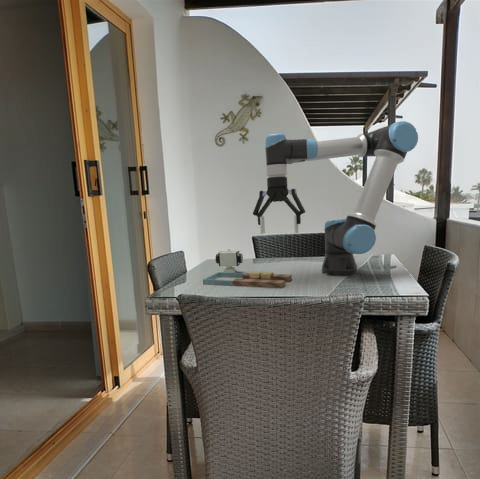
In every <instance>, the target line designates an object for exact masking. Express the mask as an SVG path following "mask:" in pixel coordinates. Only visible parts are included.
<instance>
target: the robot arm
mask: <svg viewBox="0 0 480 479" xmlns="http://www.w3.org/2000/svg"><path fill="white" fill-rule="evenodd" d="M418 142H419V134H418V131H417V128H416V127H415V126H414V125H413V123H411V122H408V121H406V120H405V121H403V120H402V121H401V120H400V121H396V122H394V123H392V124H389V125H386V126H382V127H381V128H377V129H375V130H373V131H370V132H365V133H359V134H358V135H357V136H353V137H348V138H347V137H345V138H337V139H336V138H335V139H329V140H321V141H320V140H319V141H317V140H316V139H313V138H302V139H301V138H299V139H287V138H286V135H285V133H278V132H277V133H271V134H268V135H267V136H266V137H265V158H266V159H265V161H266V176H267V178H266V183H267V184H266V185H267V190H260V191H259V193H258V194H259V195H258V196H259V197H258V200H257V202H256V205H255V206H254V209H253V212H252V215H253V216H256V217H257V224H258V225H257V226H259V227H260V234H262V235H263V234H265V233H266V231H265V230H266V228H265V227H266V226H265V225H266V224H265V216H263V215H264V214H265V212H266V211H267V209H268V208H269V207H270V205H271V204H272V202H274V203H275V202H284V203H285V204H286V206H288V207H289V209H290V210H291V211H292V212H293V213H294V214H295V215H294V216H293V218H294V219H293V223H294V224H293V226H294V234H298V233H299V225H301V221H302V220H301V215H304V214H305V213H306V210H305V208H304V206H303V204H302V202H301V201H300V198H299V197H298V195H297V188H292V189H288V177H287V175H288V171H287V168H288V167H287V165H292V164H296V163H297V164H298V163H304V162H313V161H319V160H320V161H321V160H328V159H335V158H336V159H337V158H344V157H353V156H354V157H355V156H357V157H359V158H364V157H368V158H369V157H375V158H374V159H375V160H374V161H373V164H372V166H371V169H370V171H369V174H368V176H367V179H366V180H365V183H364V185H363V187H362V191H361V193H360V195H359V197H358V199H357V202H356V204H355V208H354V209H353V211H352V213H349V214H347V216H346V218H344V219H334V220H333V219H332V220H327V221H325V222H324V228H323V229H324V246H325V247H324V248H325V250H324V251H325V254H324V259H323V262H322V265H321V273H322V274H325V275H328V276H352V275H355V274H358V265H357V263H356V259H355V257H354V255H363V254H366V253H368V252H369V251H371V250H372V249H373V248H374V246H375V244H376V241H377V235H376V232H375V230H376V227H377V224H376V222H375V220H376V217H377V214H378V212H379V210H380V208H381V204H382V203H383V201H384V198H385V196H386V193H387V191H388V188H389V186H390V183H391V181H392V179H393V177H394V174H395V172H396V169H397V167H398V165H399V164H401V163H403V162H404V161H405V158H406V156H407V155H408V154H407V153H409V152H411V151H412V150H413V149H415V148H416V146H417V144H418ZM289 194H290V196H292V199H293V201H294V202H295V204H296V206H295V205H294V204H293V202H292V201H291V199H289V197H288V195H289ZM266 195H267V196H268V197H267V199H266V202H265V203H264V204H263V201H264V199H265V197H266ZM262 204H263V206H262ZM261 207H262V208H261Z"/></svg>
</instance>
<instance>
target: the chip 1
mask: <svg viewBox="0 0 480 479" xmlns="http://www.w3.org/2000/svg"><path fill="white" fill-rule="evenodd" d="M263 272H264V271H255V270H253V271H251V272H249V273H250V279H261V273H263Z"/></svg>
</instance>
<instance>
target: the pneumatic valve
mask: <svg viewBox="0 0 480 479" xmlns="http://www.w3.org/2000/svg"><path fill="white" fill-rule="evenodd" d="M243 256H244V255H243V254H242V253H241V252H240V250H231V249H227V250H221V251H218V253H216V255H215V264H217V265H218V267H225V269H223V272H228V273H237V269H236V268H235V267H239V266H240V265H241V264H243V261H244V257H243Z"/></svg>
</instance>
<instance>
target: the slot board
mask: <svg viewBox="0 0 480 479" xmlns="http://www.w3.org/2000/svg"><path fill="white" fill-rule="evenodd" d="M244 273H245V274H243V275H242V278H234V279H233V281H232V284H233V286H232V287H244V288H245V287H247V288H248V287H249V288H264V289H265V288H267V289H284V288H285V287H286V285H288V284H289V283H290V282H291V281H292V279H293V278H292V276H293V275H292V274H285V273H284V274H281V273H274V280H261V279H250V273H251V272H249V273H248V272H244Z"/></svg>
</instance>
